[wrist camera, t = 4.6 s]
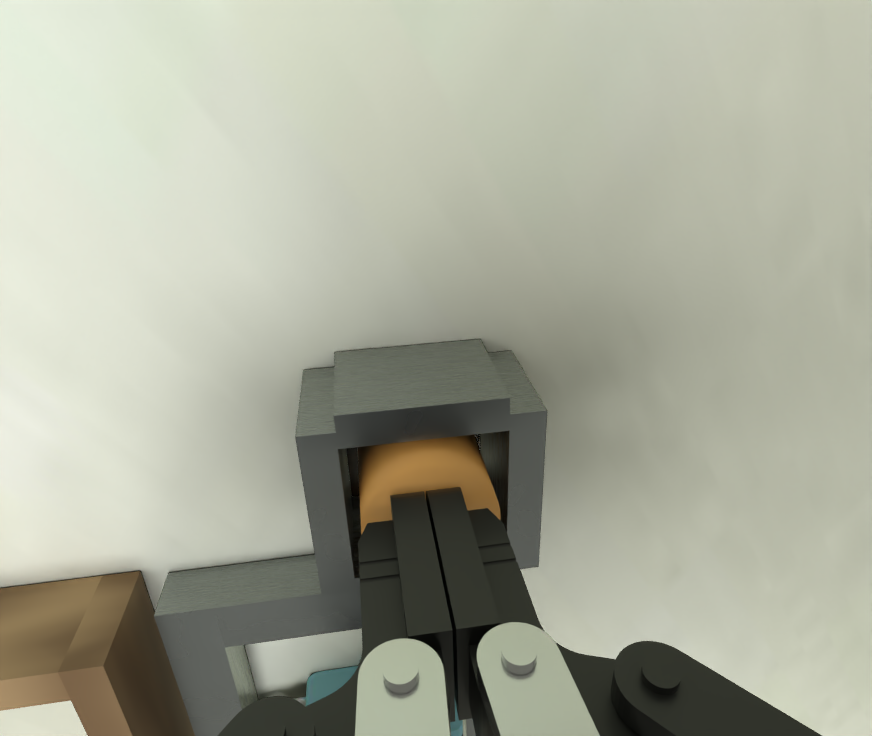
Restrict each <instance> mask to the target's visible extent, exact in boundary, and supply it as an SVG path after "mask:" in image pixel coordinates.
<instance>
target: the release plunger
mask: <svg viewBox="0 0 872 736" xmlns="http://www.w3.org/2000/svg"><path fill="white" fill-rule="evenodd" d="M357 452H358V474H359V495H360V517H361V534H362V533H363V531H364V529H365V527H366V525H367V523H373V522H381V521H389V520H392V513H391V501H390V495H396V494H405V493H413V492H421V491H424V493H425V498H426V491H429V490H437V489H445V488H454V487H460V488H461V490H462V493H463V497H464V500H465V504H466V507H467V510H476V509H484V508H488V509H489V510H490V511H491V512H492V513H493V514H494V515H495V516H496V517H497V518H498V519H499V520H500V517H501V515H500V506H499V502H498V499H497V497H496V494H495V491H494V488H493V486H492V483H491V480H490V477H489V475H488V472H487V469H486V466H485V463H484V461H483V458H482V455H481V452H480V450H479V447H478V444H477V441H476V439H475V436H474V435H465V436H456V437H446V438H437V439H428V440H419V441H409V442H400V443H391V444H382V445H372V446H363V447H357Z"/></svg>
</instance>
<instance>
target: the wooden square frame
mask: <svg viewBox="0 0 872 736" xmlns="http://www.w3.org/2000/svg"><path fill="white" fill-rule="evenodd" d="M154 614H155V612H154V609H153V606H152V604H151V601H150V598H149V595H148V592H147V589H146V586H145V583H144V580H143V577H142V574H141V572H140V571H136V572H128V573H120V574H112V575H104V576H96V577H88V578H80V579H72V580H64V581H56V582H48V583H40V584H32V585H24V586H16V587H8V588H0V711H1V710H8V709H14V708H21V707H28V706H35V705H42V704H49V703H56V702H62V701H69V700H71V701H72V703H73V706H74V708H75V710H76V712H77V714H78V716H79V718H80V720H81V722H82V725H83V727H84V729H85V731H86V733H87V735H88V736H195V734H194V731H193V728H192V725H191V722H190V719H189V717H188V714H187V711H186V708H185V705H184V702H183V699H182V696H181V693H180V691H179V688H178V685H177V682H176V679H175V676H174V673H173V670H172V667H171V665H170V662H169V659H168V656H167V653H166V650H165V647H164V644H163V641H162V639H161V636H160V633H159V630H158V627H157V624H156V621H155V618H154Z"/></svg>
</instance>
